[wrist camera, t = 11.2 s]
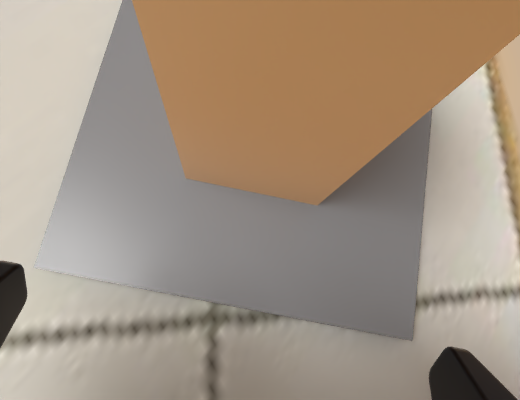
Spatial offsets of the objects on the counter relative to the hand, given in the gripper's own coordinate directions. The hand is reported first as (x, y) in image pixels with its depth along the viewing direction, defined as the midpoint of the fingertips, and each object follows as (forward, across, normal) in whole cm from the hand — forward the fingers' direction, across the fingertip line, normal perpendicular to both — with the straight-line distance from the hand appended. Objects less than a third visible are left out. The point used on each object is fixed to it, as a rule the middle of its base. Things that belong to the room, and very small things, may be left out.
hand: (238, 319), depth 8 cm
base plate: (+12, 0, +1) cm, 12 cm away
